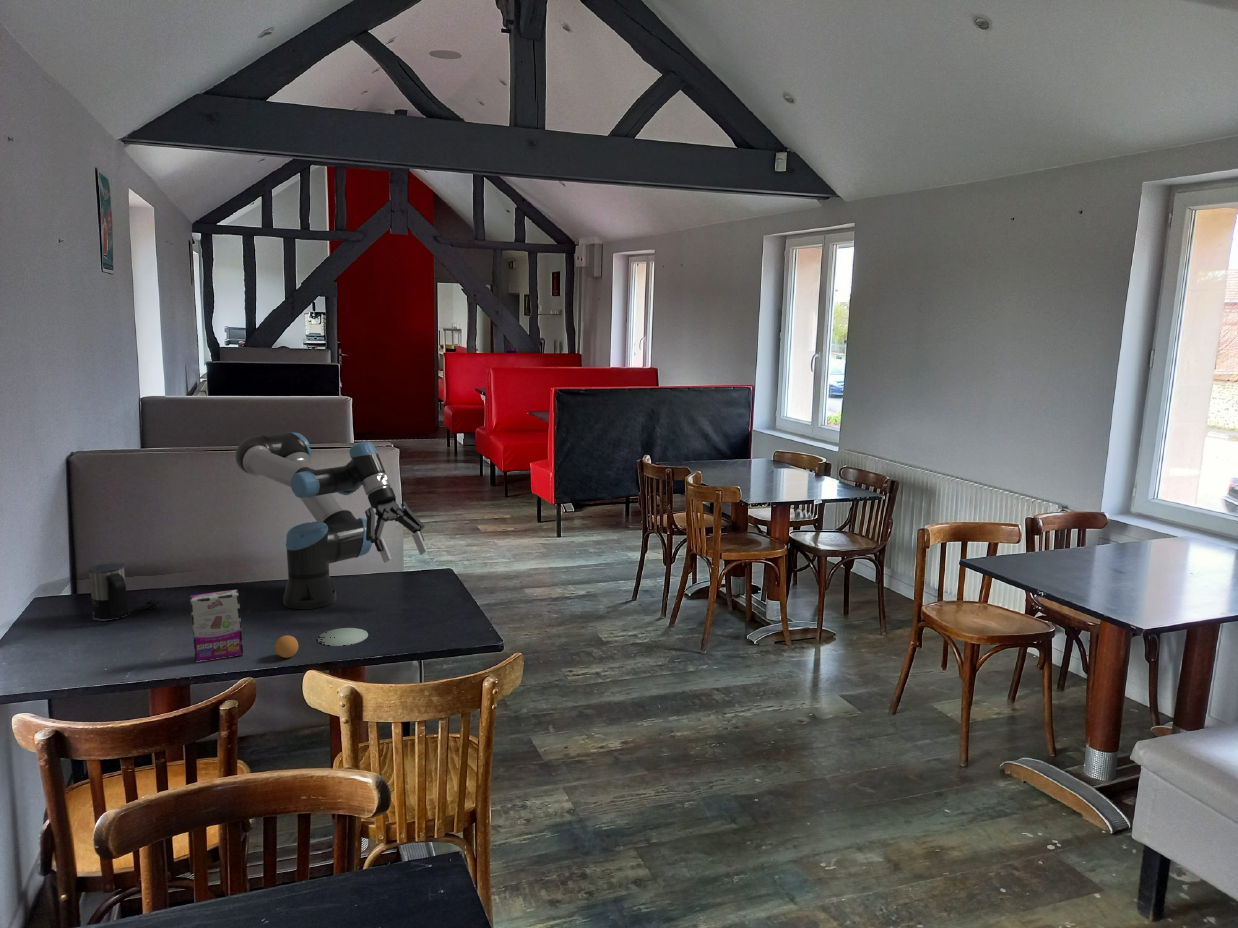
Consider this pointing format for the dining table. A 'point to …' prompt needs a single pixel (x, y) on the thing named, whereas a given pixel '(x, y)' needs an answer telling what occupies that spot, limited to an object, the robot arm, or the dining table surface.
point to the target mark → (343, 636)
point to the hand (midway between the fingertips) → (406, 556)
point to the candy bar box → (216, 625)
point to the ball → (286, 646)
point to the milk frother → (111, 591)
